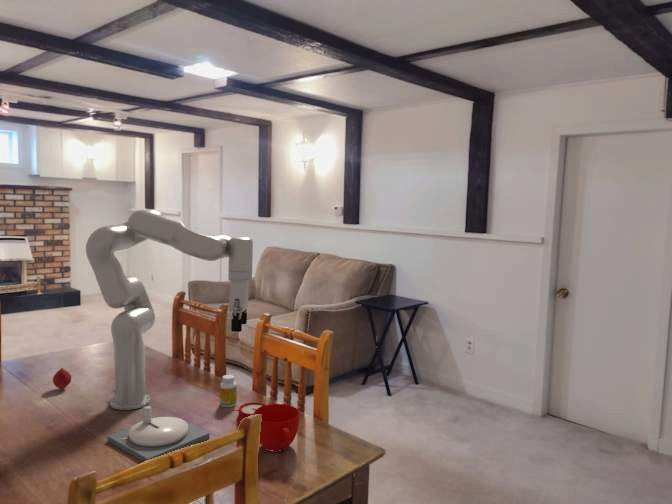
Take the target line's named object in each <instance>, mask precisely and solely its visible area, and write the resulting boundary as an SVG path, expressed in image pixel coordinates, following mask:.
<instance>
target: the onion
mask: <svg viewBox="0 0 672 504" xmlns="http://www.w3.org/2000/svg"><path fill="white" fill-rule="evenodd" d="M71 382H72V375H71V374H70V372H69V371H67V370H66V369H65V368H64V367H61V368H60V369H59V370H57V371H56V373H55V374H54V375H53V377H52V383H53V385H54V386H55V387H56V388H58V389H60V390H64V389H65V388H67V387H68V386H69V385H70V383H71Z"/></svg>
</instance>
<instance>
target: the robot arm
mask: <svg viewBox="0 0 672 504" xmlns="http://www.w3.org/2000/svg"><path fill="white" fill-rule="evenodd" d="M146 240H150V241H153V242H157V243H160V244H161V245H162V244H163V245H166V246H168V247H172V248H174V249H175V250H177V251H179V252H181V253H183V254H185V255H188V256H191V257H194V258H197V259H201V260H203V261H208V262H214V261H218V260H221V259H225V258H228V274H227V275H228V277H227V278H228V279H227V280H228V281H229V282H230V285H229V298H228V312H229V313H231V320H230V322H231V325H230V332H231V333H232V332H233V333H234V332H235V333H241V332H242V331H243V330H242V329H243V326H242V325H246V324H247V323H248V321H247V320H248V313H247V310H248V306H249V287H250V286H249V284H250V282H252V280H253V256H254V255H253V253H254V250H253V247H254V242H253V239H252V238H250V237H246V236H227V235H223V234H221V235H220V234H218V235H213V236H209V235H206V234H202V233H199V232H196V231H193V230H191V229H189V228H188V227H186V226H185V225H184V223H183V222H181V221H180V220H176V219H173V218H170V217H167V216H163V214H162V213H161V212H159V211H157V210H155V209H140V210H136V211H134V212H133V213H131V214H130V216H129V217H128V218H127V221H125V222H124V223H121V224H114V225H113V224H112V225H110V224H109V225H106V226H101V227H99V228H97V229H96V230H94V231H93V232H92V233H90V235H89V237H88V238H87V241H86V243H85V244H86V245H85V253H86V257H87V260H88V262H89V264H90V266H91V269H92V271H93V274H94V276H95V279H96V283H97V284H98V287H99V289H100V292H101V294H102V298H103V300H104V302H105V304H106V305H107V306H108V307H109V308H111V309H122V308H123V309H124V311H122V312H119V313H118V314H117V315H116V316H115V317H114V319H113V320H112V322H111V325H110V326H111V327H110V332H111V333H110V334H111V339H112V342H113V343H112V344H113V357H114V358H113V359H114V387H113V388H112V390H111V391H112V393H114V397H113V398H112V399H111V400H110V401H109V406H110V407H111V408H112V409H115V410H119V411H130V410H135V409H136V410H137V409H141V408H143V407H146V406H148V405H149V404H150V402H151V396H150V395H149V394H147V393H146V356H145V355H146V348H145V344H144V340H143V334H145V333H147V332H148V331H149V330H151V329H152V328H153V327H154V325H155V322H156V315H155V311H154V307H153V305H152V303H151V300H150V298H149V295H148V292H147V290H146V287H145V285H144V284H143V283H142V281H141V280H140V279H138V278H137V277H135V276H132V275H125V272H124V270H123V267H122V264H121V262H120V261H119V260H118V259H117V257H116V256H115V252H118V251H122V250H127V249H130V248H133V247H135V246H137V245H138V244H141V243H142V242H143V243H144V241H146Z"/></svg>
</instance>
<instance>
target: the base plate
mask: <svg viewBox="0 0 672 504" xmlns="http://www.w3.org/2000/svg"><path fill="white" fill-rule="evenodd" d="M161 417H175V418H177V417H176V416H173V415H171V414H169V413H168V414H166V415H162V416H161ZM187 424H188V433H187V435H186V436H185V437H184V438H182V439H181V440H179V441H177V442H175V443H172V444H168V445H163V446H155V447H147V446H140V445H136V444H134V443H132V442H131V441H130V439H129V431H130V429H131V427H129V428H126V429H123V430H122V431H118V432H115V433H112V434H109V435H107V442H109V443H110V444H112V445H114V446H116V447H117V448H119V449H121V450H122V451H124V452H127V453H128V454H130V455H131V456H133V457H135V458H136V459H138V460H139V461H141V462H143V461H146V460H149V459H152V458H155V457H158V456H161V455H164V454H167V453H169V452H172V451H175V450H178V449H181V448H184V447H187V446H189V447H191V446H190V445H192V444H194V445H196V444H198V443H200V442H201V443H202V442H203V441H206V440H208V439H210V432H208V431H206V430H203V428H199V427H197V426H196V425H192V424H190V423H188V422H187ZM192 446H193V445H192ZM187 448H188V447H187Z"/></svg>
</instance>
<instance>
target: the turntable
mask: <svg viewBox="0 0 672 504" xmlns="http://www.w3.org/2000/svg"><path fill="white" fill-rule="evenodd" d="M175 417H176V416H173V417H162V416H160V417H152V406H151V405H150V406H149V405H146V406H143V407H142V420H141V421H139V422H137V423H135V424H134V425H132V426H131V427H130V428H131V429H130V431H129V439H130V441H131V442H132V443H134V444H136V445H140V446H147V447H155V446H163V445H168V444H172V443H175V442H177V441H179V440H181V439H182V438H184V437H185V436H186V435H187V433H188V424H187V423H188V422H187V421H185V420H183V419H182V418H180V417H176V418H175Z"/></svg>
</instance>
